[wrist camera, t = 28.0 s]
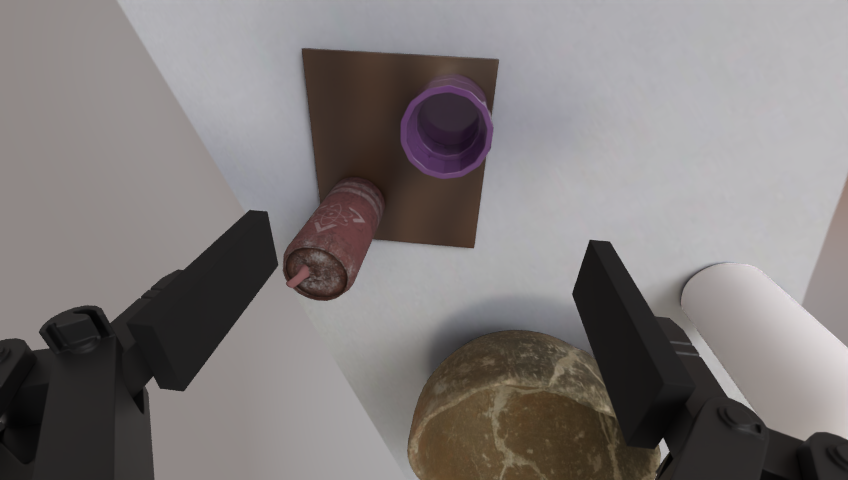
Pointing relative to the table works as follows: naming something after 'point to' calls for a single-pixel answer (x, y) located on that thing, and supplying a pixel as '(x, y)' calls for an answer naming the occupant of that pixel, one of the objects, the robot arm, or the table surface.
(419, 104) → the purple faceted cup
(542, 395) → the bowl
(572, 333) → the table surface
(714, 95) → the table surface
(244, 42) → the table surface
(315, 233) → the can
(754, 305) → the alcohol
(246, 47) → the table surface
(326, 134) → the placemat
